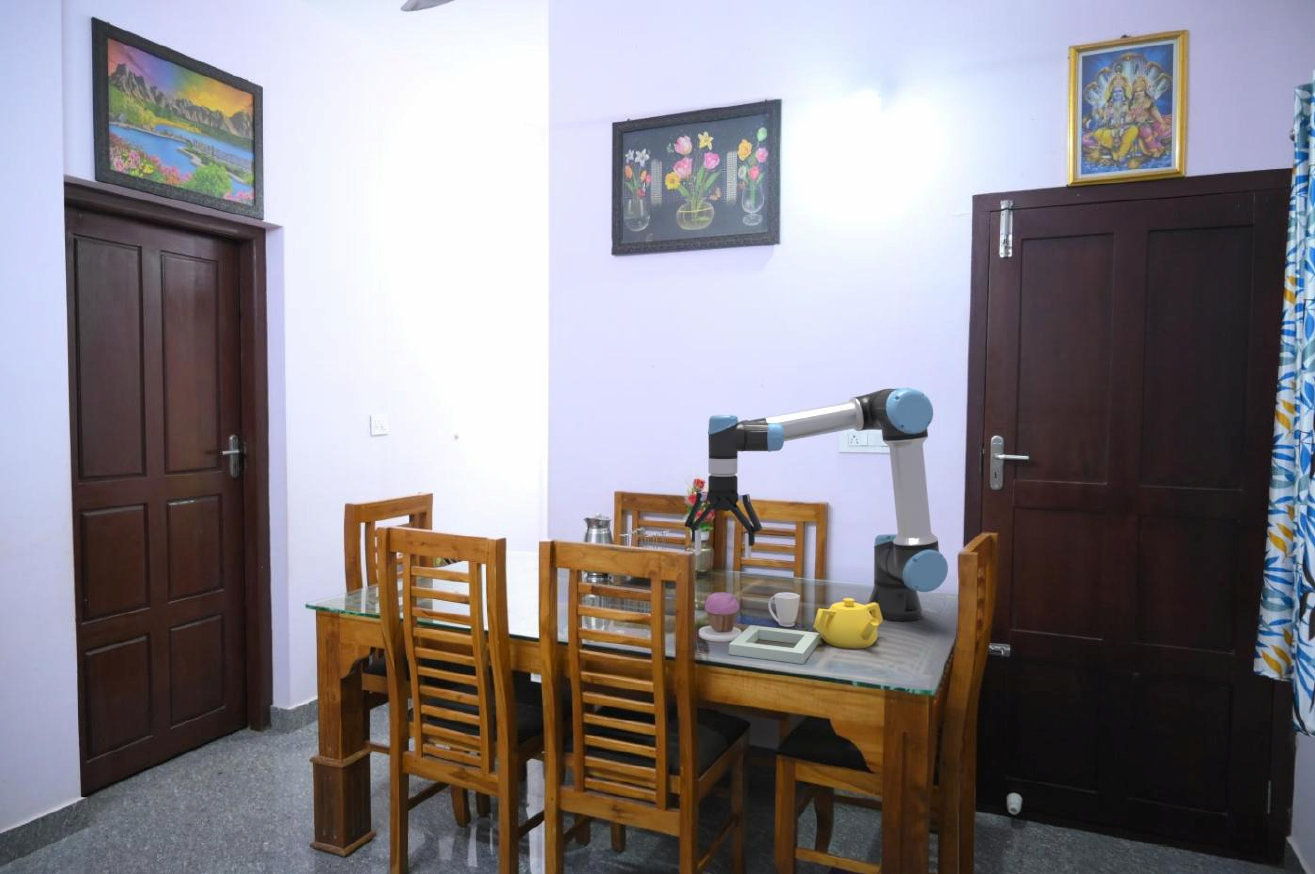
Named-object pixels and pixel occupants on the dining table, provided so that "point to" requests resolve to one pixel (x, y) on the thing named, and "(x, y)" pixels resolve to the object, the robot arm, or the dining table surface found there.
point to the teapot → (849, 624)
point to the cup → (785, 608)
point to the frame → (798, 654)
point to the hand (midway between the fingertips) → (722, 556)
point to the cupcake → (721, 611)
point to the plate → (718, 634)
